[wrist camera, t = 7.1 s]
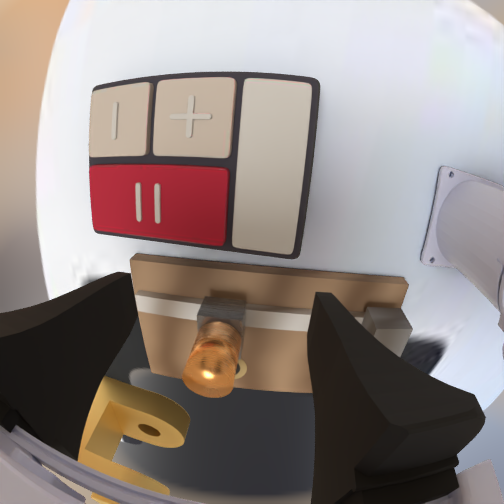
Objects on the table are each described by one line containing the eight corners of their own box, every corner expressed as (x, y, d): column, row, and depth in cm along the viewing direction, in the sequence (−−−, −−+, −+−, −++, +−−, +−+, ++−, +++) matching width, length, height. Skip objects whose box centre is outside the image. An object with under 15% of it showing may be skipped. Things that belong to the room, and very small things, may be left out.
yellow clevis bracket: (190, 402, 29) (154, 519, 14) (190, 434, 33) (164, 528, 18) (56, 354, 29) (-2, 433, 15) (73, 393, 33) (30, 464, 18)
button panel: (84, 85, 13) (322, 75, 12) (118, 90, 17) (316, 89, 16) (87, 237, 18) (299, 266, 16) (117, 219, 22) (298, 241, 20)
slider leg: (247, 295, 20) (233, 365, 14) (242, 373, 24) (232, 438, 17) (207, 290, 21) (178, 357, 14) (210, 369, 24) (192, 432, 17)
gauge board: (403, 277, 20) (426, 309, 16) (361, 384, 26) (369, 418, 21) (136, 253, 22) (107, 280, 17) (155, 364, 27) (140, 397, 23)
